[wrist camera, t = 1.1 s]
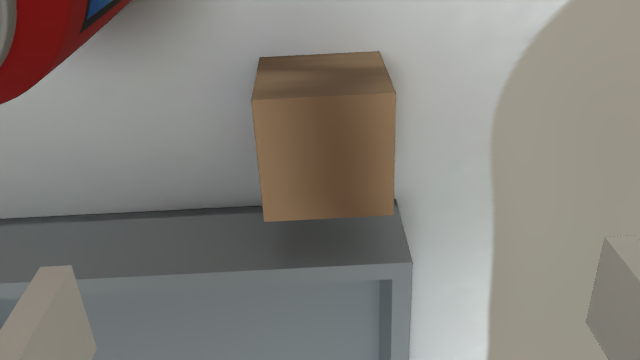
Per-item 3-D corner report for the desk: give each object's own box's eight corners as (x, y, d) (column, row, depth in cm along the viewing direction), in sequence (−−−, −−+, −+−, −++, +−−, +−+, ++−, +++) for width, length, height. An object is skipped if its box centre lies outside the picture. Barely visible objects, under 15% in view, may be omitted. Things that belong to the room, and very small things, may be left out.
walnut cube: (269, 162, 27) (264, 221, 23) (259, 56, 25) (251, 100, 21) (378, 157, 27) (393, 215, 23) (379, 50, 25) (395, 92, 21)
